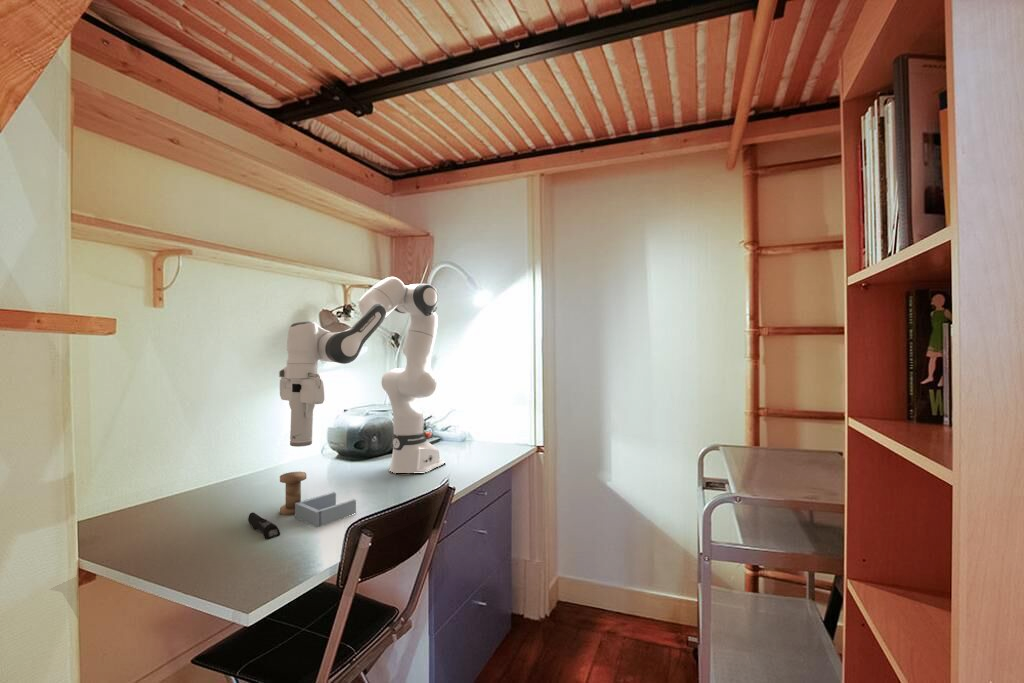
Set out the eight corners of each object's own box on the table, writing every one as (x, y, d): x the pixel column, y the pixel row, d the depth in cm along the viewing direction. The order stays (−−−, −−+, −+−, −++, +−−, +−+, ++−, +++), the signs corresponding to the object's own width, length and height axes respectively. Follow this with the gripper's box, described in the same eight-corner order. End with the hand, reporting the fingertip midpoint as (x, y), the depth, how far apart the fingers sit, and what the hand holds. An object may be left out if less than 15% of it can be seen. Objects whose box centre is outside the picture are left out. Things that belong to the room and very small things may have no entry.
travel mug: (292, 447, 136) (295, 381, 136) (287, 444, 141) (290, 380, 141) (314, 445, 139) (316, 381, 140) (308, 441, 145) (311, 380, 145)
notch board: (333, 505, 135) (333, 491, 135) (355, 513, 128) (356, 499, 128) (295, 517, 125) (295, 503, 125) (317, 527, 118) (317, 512, 118)
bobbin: (298, 504, 135) (298, 470, 135) (311, 509, 131) (311, 474, 131) (275, 511, 129) (275, 475, 129) (287, 517, 125) (287, 480, 125)
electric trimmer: (259, 521, 124) (259, 509, 124) (281, 536, 114) (281, 524, 114) (244, 525, 121) (244, 513, 121) (265, 541, 111) (265, 528, 111)
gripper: (330, 373, 137) (329, 418, 137) (295, 370, 149) (294, 412, 149) (310, 374, 132) (309, 421, 132) (275, 371, 144) (275, 414, 144)
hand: (301, 416), depth 140 cm, fingers closed on travel mug, 6 cm apart
